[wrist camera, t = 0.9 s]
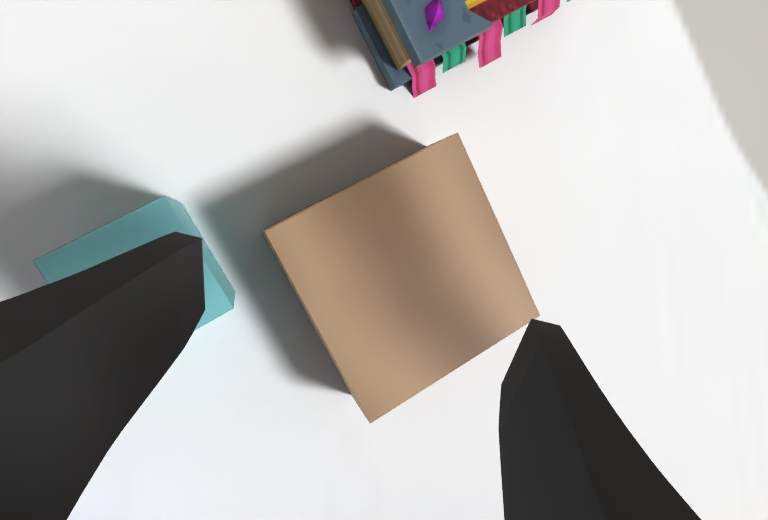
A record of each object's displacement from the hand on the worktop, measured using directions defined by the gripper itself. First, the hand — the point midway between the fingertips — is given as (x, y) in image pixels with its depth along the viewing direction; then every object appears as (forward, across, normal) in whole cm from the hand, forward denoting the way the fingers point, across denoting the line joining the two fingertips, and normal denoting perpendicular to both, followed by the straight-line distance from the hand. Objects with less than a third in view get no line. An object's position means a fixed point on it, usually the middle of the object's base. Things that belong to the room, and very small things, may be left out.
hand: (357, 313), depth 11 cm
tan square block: (+12, 0, +7) cm, 14 cm away
